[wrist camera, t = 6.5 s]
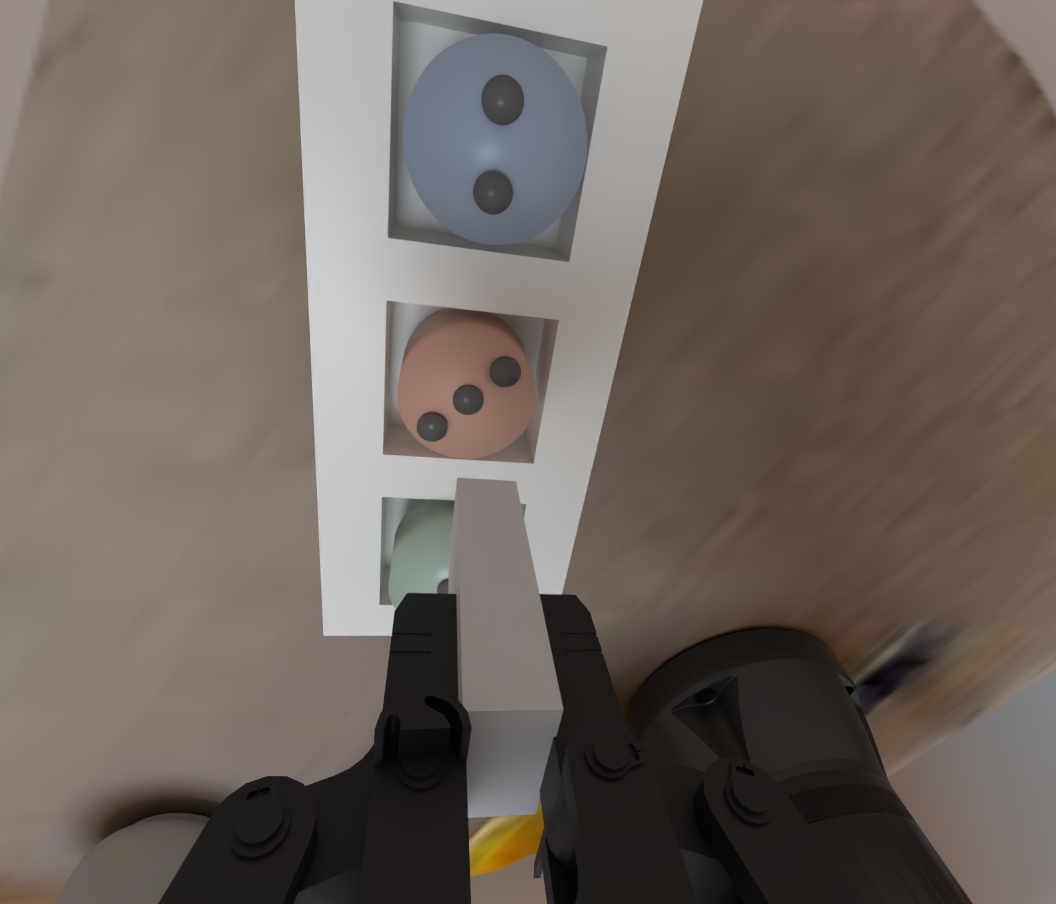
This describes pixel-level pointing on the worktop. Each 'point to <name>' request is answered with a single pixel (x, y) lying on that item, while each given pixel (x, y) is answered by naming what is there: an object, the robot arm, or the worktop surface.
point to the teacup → (134, 862)
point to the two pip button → (495, 139)
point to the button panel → (467, 266)
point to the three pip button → (465, 384)
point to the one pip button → (422, 551)
